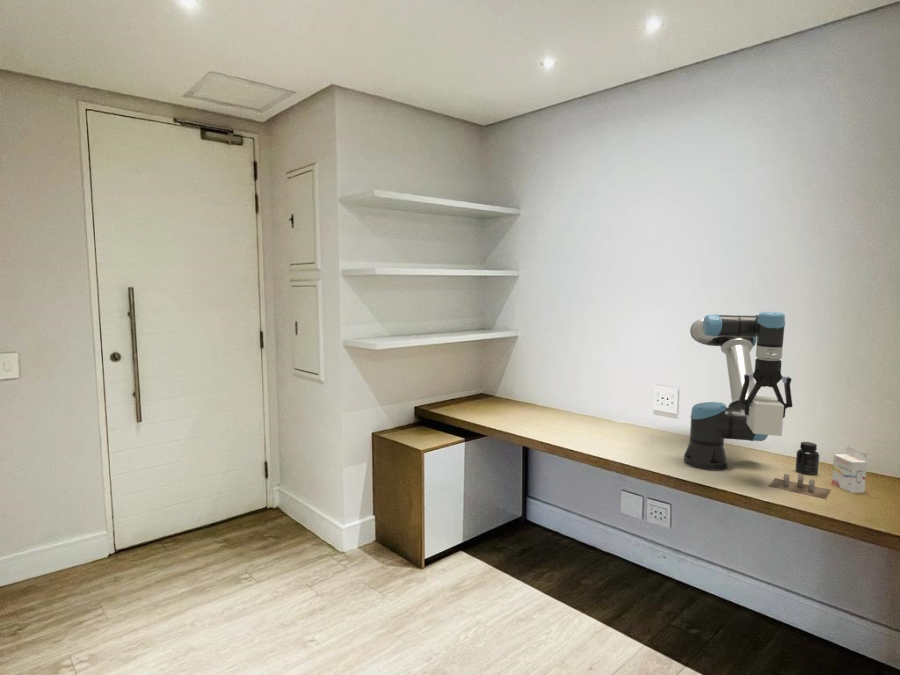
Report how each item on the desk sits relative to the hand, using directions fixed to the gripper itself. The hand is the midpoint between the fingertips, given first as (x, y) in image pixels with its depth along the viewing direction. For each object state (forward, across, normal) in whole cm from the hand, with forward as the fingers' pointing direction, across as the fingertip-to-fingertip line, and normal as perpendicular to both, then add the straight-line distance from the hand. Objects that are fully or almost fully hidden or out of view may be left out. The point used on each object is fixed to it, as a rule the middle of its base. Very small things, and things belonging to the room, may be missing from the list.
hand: (763, 425), depth 185 cm
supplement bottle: (+21, +18, +17) cm, 33 cm away
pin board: (+21, +11, -3) cm, 24 cm away
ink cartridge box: (+21, +26, +4) cm, 34 cm away
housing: (+1, 0, 0) cm, 1 cm away
